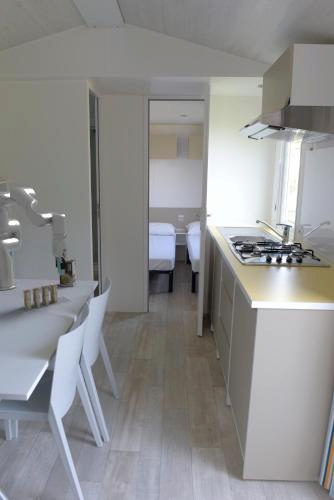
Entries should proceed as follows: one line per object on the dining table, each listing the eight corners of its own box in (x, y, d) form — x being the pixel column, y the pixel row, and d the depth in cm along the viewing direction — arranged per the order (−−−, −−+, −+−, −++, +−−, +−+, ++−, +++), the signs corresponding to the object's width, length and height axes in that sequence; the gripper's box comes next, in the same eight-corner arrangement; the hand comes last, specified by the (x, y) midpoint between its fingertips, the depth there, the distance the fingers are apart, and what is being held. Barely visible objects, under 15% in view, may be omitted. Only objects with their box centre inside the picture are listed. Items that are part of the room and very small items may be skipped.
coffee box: (76, 283, 246) (75, 259, 243) (73, 286, 240) (72, 262, 236) (63, 283, 247) (62, 259, 243) (59, 286, 241) (58, 261, 237)
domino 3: (42, 302, 210) (41, 285, 208) (45, 302, 211) (44, 285, 209) (46, 305, 207) (45, 287, 204) (49, 304, 208) (48, 287, 206)
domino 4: (50, 300, 213) (49, 283, 211) (53, 300, 215) (52, 283, 212) (54, 303, 210) (53, 286, 208) (57, 302, 211) (56, 285, 209)
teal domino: (57, 273, 213) (56, 255, 211) (60, 272, 214) (59, 255, 212) (61, 275, 210) (60, 257, 207) (64, 274, 211) (63, 257, 209)
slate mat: (19, 307, 204) (19, 306, 204) (63, 297, 221) (63, 296, 221) (25, 312, 197) (25, 311, 197) (71, 301, 214) (71, 300, 214)
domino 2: (33, 304, 207) (32, 287, 205) (36, 304, 208) (35, 286, 206) (37, 307, 203) (36, 289, 201) (40, 306, 204) (39, 289, 202)
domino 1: (24, 307, 204) (23, 289, 201) (27, 306, 205) (26, 288, 203) (28, 309, 200) (26, 291, 198) (31, 308, 201) (30, 291, 199)
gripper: (46, 234, 211) (48, 266, 215) (60, 239, 199) (61, 272, 203) (58, 233, 216) (60, 264, 220) (73, 237, 204) (74, 270, 208)
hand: (61, 267), depth 211 cm, fingers closed on teal domino, 4 cm apart
